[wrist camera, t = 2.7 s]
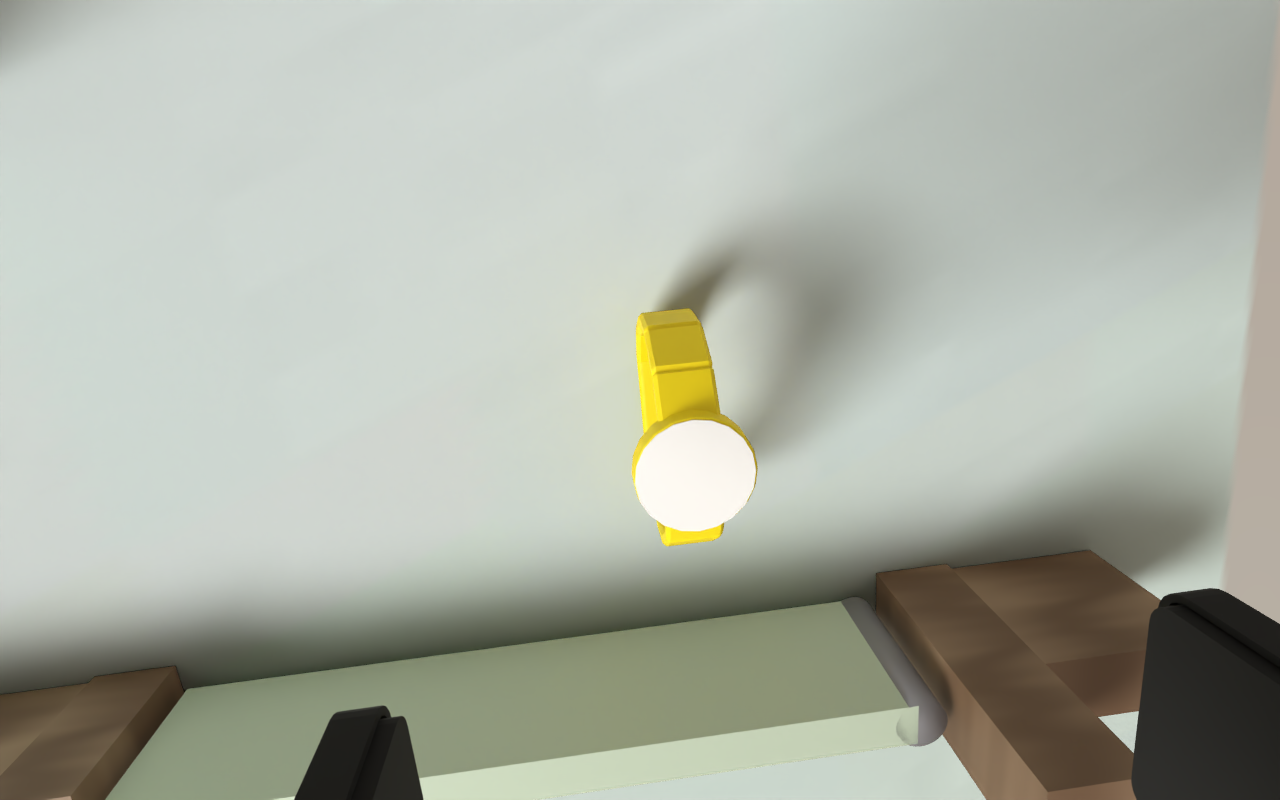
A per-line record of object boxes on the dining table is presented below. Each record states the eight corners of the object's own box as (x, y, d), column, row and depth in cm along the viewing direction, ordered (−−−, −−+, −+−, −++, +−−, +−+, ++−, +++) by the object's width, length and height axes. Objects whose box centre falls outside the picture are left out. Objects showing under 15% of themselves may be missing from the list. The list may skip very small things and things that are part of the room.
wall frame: (1090, 545, 25) (1372, 741, 16) (1084, 606, 25) (1351, 828, 17) (-183, 713, 22) (-666, 1056, 13) (-151, 777, 23) (-589, 1142, 14)
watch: (713, 476, 23) (761, 590, 17) (625, 486, 23) (645, 605, 17) (704, 287, 21) (756, 348, 15) (606, 297, 21) (623, 363, 15)
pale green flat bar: (872, 594, 24) (948, 698, 19) (871, 659, 25) (945, 775, 20) (186, 686, 22) (83, 823, 18) (208, 752, 23) (115, 901, 18)
